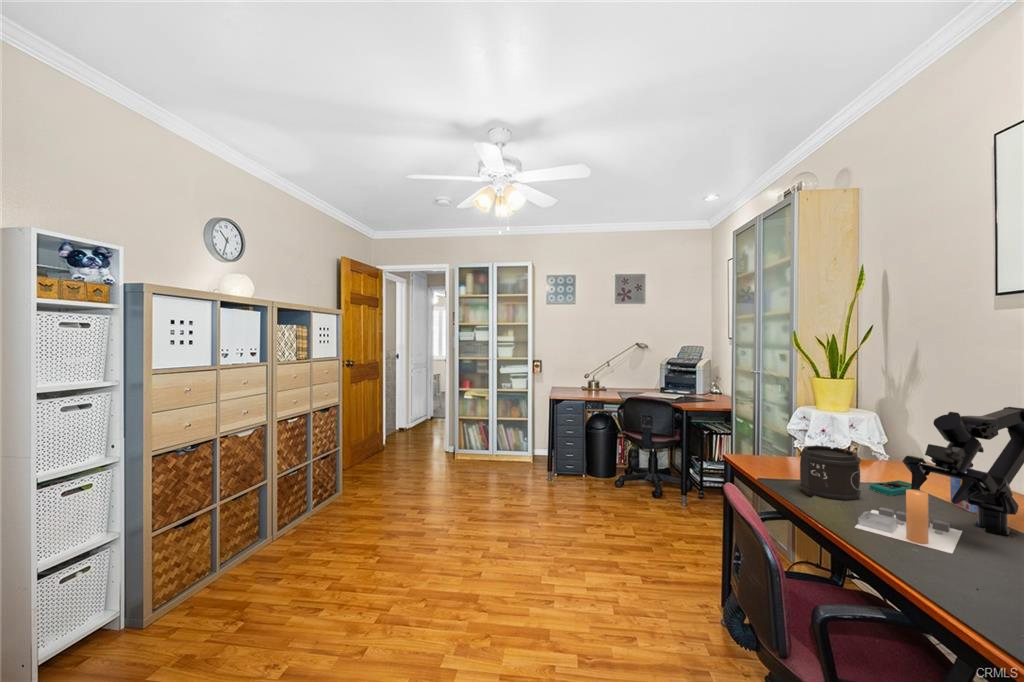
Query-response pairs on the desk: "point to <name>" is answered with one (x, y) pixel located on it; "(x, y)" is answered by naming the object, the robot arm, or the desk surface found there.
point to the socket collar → (878, 522)
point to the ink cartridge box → (964, 504)
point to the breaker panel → (937, 532)
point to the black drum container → (830, 472)
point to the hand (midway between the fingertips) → (932, 496)
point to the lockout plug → (917, 516)
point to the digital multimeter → (891, 487)
